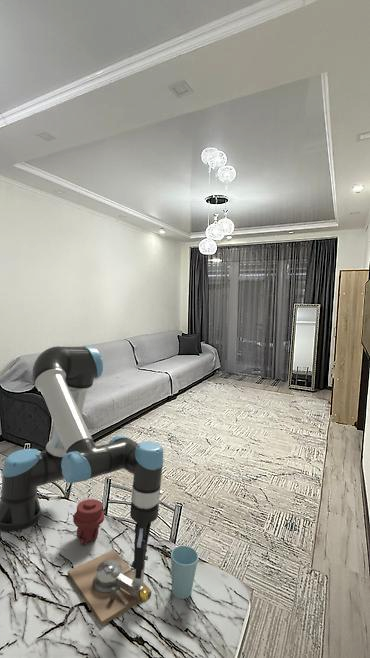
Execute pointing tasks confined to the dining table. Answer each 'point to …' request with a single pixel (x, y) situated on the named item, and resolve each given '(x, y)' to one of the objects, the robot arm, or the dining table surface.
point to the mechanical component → (88, 519)
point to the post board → (103, 589)
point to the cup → (183, 570)
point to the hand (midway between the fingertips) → (137, 585)
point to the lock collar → (118, 579)
